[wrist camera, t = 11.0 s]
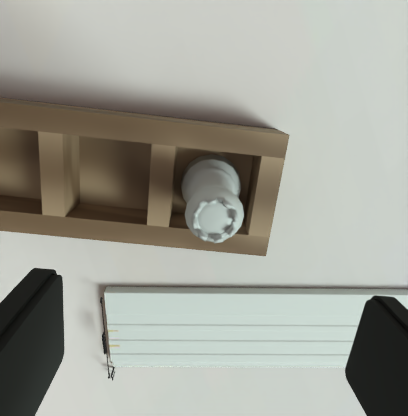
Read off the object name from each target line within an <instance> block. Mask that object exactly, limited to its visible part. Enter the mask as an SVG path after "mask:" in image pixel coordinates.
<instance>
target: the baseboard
mask: <svg viewBox="0 0 408 416" xmlns="http://www.w3.org/2000/svg"><path fill="white" fill-rule="evenodd" d="M375 295H377V296H390V297H395V298H396V299H397V300H398V301H399V302H400V303H401V304H402V305H403V306H405V307H406V308H407V309H408V289H327V288H213V287H106V289H105V292H104V299H105V309H106V316H107V329H108V336H109V347H110V360H111V361H112V362H113V370H112V373H111V378H112V380H113V377H114V375H113V371H114V367H326V368H346V364H347V361H348V358H349V354H350V351H351V348H352V345H353V341H354V338H355V335H356V332H357V328H358V325H359V322H360V319H361V315H362V312H363V309H364V306H365V303H366V301H367V300H370V299H371V298H372V297H373V296H375ZM102 299H103V298H102V297H101V300H100V303H101V304H102ZM102 314H103V307H102ZM103 324H104V317H103ZM104 334H105V327H104V332H103V335H102V341H103V347H104V348H103V349H104V354H107V347H106V346H105V344H106V337H105V336H104ZM104 339H105V340H104ZM105 347H106V348H105ZM107 364H108V357H107ZM114 373H115V372H114ZM108 374H109V377H108V378H110V373H109V367H108ZM112 375H113V377H112Z"/></svg>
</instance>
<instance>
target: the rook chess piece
mask: <svg viewBox="0 0 408 416" xmlns="http://www.w3.org/2000/svg"><path fill="white" fill-rule="evenodd" d="M181 189H182V194H183V198H184V200H185V201H186V203H187V206H186V211H185V218H186V223H187V226H188V227H189V229H190V230H191V232H192V233H193V234H194V235H195V236H197V237H199V238H200V239H202V240H204V241H210V242H214V243H220V242H223V240H226V239H228V238H229V237H232V236H233V235H234V234H235V233H236V232H237V231H238V229H239V228H240V227H241V225H242V221H243V218H244V212H243V205H242V203H241V202H240V200H239V199H238V198H239V195H240V191H241V182H240V175H239V172H238V171H237V169H236V167H235V166H234V164H233V163H232V162H230V161H229V160H227V159H226V158H225V157H222V156H218V155H213V154H210V155H204V156H200V157H198V158H196V159H195V160H193V161H192V162H190V163H189V165H188V166H187V167H186V169H185V170H184V172H183V175H182V180H181Z"/></svg>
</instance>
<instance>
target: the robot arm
mask: <svg viewBox="0 0 408 416" xmlns="http://www.w3.org/2000/svg"><path fill="white" fill-rule="evenodd" d="M63 355H64V320H63V282H62V276H61V275H57V273H56V271H55V270H52V269H40V268H34V269H32V270H31V271H30V272H29V273H28V274H27V275H26V276H25V277H24V279H23V280H22V281H21V282H20V283H19V284H18V285H17V286H16V287H15V288H14V289H13V290H12V291H11V292H10V293H9V294H8V295H7V296H6V298H5V299H4V300H3V301H2V302H1V303H0V416H35V414H36V412H37V410H38V408H39V406H40V404H41V402H42V400H43V398H44V396H45V394H46V392H47V390H48V388H49V386H50V384H51V382H52V380H53V378H54V376H55V374H56V372H57V370H58V368H59V366H60V364H61V362H62V359H63ZM345 373H346V378H347V381H348V382H349V384H350V386H351V388H352V390H353V392H354V393H355V395H356V397H357V399H358V401H359V402H360V404H361V406H362V408H363V410H364V411H365V413H366V415H367V416H408V309H407V308H406V307H405V306H403V305H402V304H401V303H400V302H399V301H398V300H397V299H396V298H395V297H390V296H377V295H375V296H373V297H372V298H371V299H370V300H367V301H366V303H365V306H364V309H363V312H362V315H361V319H360V322H359V325H358V328H357V332H356V335H355V338H354V341H353V345H352V348H351V351H350V354H349V358H348V361H347V364H346V368H345Z"/></svg>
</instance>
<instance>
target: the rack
mask: <svg viewBox="0 0 408 416" xmlns="http://www.w3.org/2000/svg"><path fill="white" fill-rule="evenodd" d="M288 139H289V135H288V134H286V133H284V132H282V131H279V130H277V129H269V128H260V127H252V126H243V125H234V124H226V123H217V122H208V121H199V120H191V119H182V118H173V117H165V116H156V115H147V114H138V113H130V112H121V111H112V110H104V109H95V108H86V107H77V106H69V105H60V104H51V103H43V102H34V101H25V100H16V99H8V98H0V231H9V232H19V233H30V234H40V235H50V236H61V237H71V238H82V239H92V240H102V241H113V242H123V243H134V244H144V245H154V246H165V247H175V248H186V249H196V250H206V251H217V252H227V253H238V254H248V255H258V256H266V252H267V247H268V242H269V237H270V232H271V227H272V222H273V217H274V211H275V206H276V201H277V196H278V191H279V186H280V181H281V175H282V170H283V165H284V160H285V155H286V150H287V145H288ZM210 154H213V155H218V156H222V157H225V158H226V159H227V160H229V161H230V162H232V163H233V164H234V166H235V167H236V169H237V171H238V172H239V175H240V182H241V191H240V195H239V198H238V199H239V200H240V202H241V203H242V205H243V212H244V218H243V221H242V225H241V227H240V228H239V229H238V231H237V232H236V233H235V234H234V235H233V236H232V237H229V238H228V239H226V240H223V242H220V243H214V242H210V241H204V240H202V239H200V238H199V237H197V236H195V235H194V234H193V233H192V232H191V230H190V229H189V227H188V226H187V223H186V218H185V211H186V206H187V203H186V201H185V200H184V198H183V194H182V189H181V180H182V175H183V172H184V170H185V169H186V167H187V166H188V165H189V163H190V162H192V161H193V160H195V159H196V158H198V157H200V156H204V155H210Z"/></svg>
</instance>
